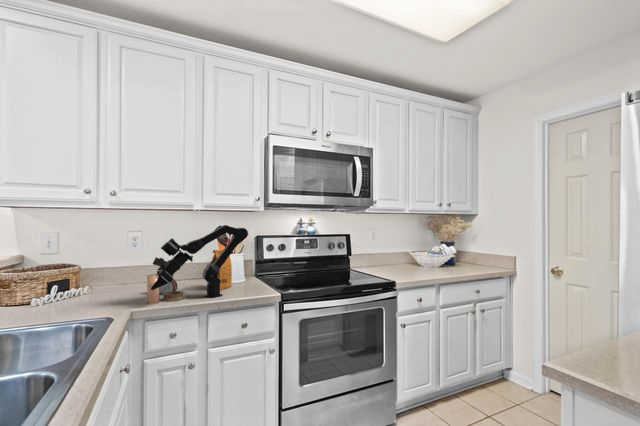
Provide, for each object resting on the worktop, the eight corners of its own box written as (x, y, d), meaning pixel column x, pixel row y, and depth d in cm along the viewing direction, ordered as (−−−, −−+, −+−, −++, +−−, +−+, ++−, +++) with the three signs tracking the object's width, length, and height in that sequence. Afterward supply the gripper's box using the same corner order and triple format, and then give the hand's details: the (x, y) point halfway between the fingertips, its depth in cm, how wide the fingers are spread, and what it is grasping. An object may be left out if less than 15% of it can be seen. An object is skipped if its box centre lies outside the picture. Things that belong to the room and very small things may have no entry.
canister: (161, 302, 156) (161, 274, 156) (150, 304, 152) (150, 276, 152) (155, 301, 159) (155, 273, 159) (145, 303, 154) (145, 275, 155)
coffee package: (205, 289, 183) (205, 249, 184) (220, 285, 195) (220, 248, 195) (219, 291, 179) (219, 250, 180) (234, 286, 190) (234, 248, 191)
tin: (177, 293, 174) (177, 277, 174) (173, 295, 171) (173, 278, 171) (154, 292, 178) (154, 276, 178) (149, 293, 175) (149, 277, 175)
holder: (187, 298, 163) (187, 292, 163) (169, 302, 156) (169, 295, 156) (176, 296, 168) (176, 290, 169) (159, 299, 161) (159, 293, 161)
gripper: (162, 249, 166) (137, 273, 160) (165, 252, 149) (137, 279, 144) (179, 264, 169) (155, 288, 164) (183, 269, 153) (157, 295, 148)
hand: (151, 287), depth 155 cm, fingers open, 9 cm apart
